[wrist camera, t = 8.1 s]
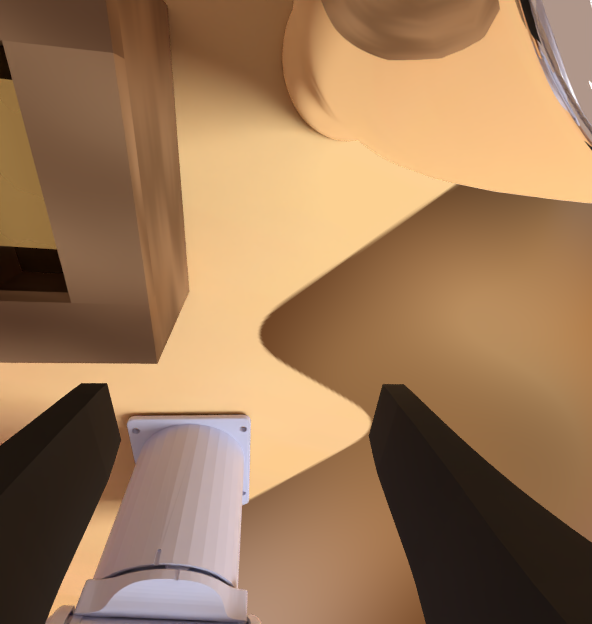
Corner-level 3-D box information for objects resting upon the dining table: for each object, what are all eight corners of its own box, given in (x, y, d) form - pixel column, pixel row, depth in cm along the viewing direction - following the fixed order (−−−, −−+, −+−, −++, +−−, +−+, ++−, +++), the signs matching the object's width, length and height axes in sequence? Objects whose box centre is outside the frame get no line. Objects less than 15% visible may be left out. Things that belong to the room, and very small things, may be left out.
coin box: (189, 291, 18) (157, 363, 13) (10, 285, 17) (-113, 361, 12) (167, 5, 13) (92, -94, 7) (-101, -29, 12) (-440, -179, 6)
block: (114, 217, 16) (61, 249, 12) (61, 213, 16) (-14, 244, 12) (96, 96, 14) (21, 80, 10) (33, 89, 14) (-74, 69, 9)
